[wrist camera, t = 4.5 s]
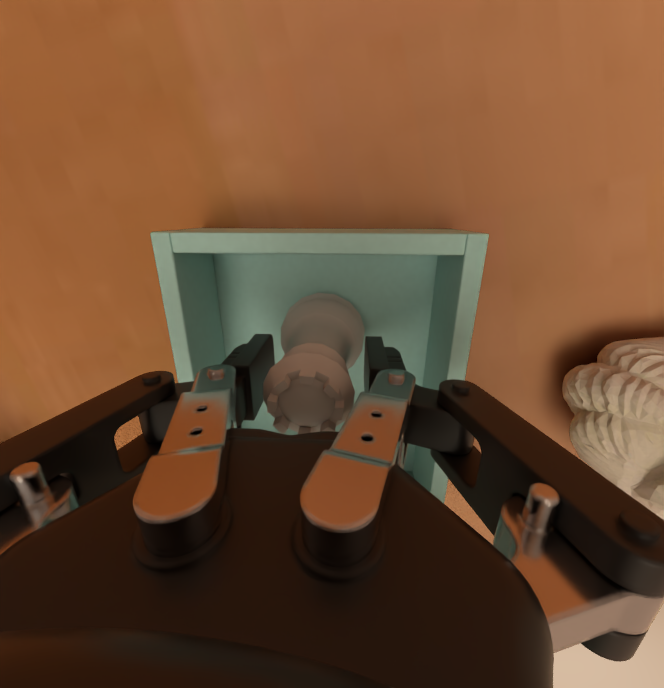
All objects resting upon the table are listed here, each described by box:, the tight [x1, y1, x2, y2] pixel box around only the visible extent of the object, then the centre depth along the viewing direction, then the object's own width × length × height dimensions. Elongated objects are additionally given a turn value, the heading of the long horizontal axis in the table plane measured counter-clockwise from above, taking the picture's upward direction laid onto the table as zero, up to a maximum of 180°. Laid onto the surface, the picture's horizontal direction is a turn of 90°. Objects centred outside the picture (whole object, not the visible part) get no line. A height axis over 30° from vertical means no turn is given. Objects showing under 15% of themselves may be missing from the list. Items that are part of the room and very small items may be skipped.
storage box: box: [150, 228, 489, 503], centre depth 18 cm, size 16×13×5 cm
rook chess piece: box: [263, 293, 365, 434], centre depth 14 cm, size 4×4×8 cm
